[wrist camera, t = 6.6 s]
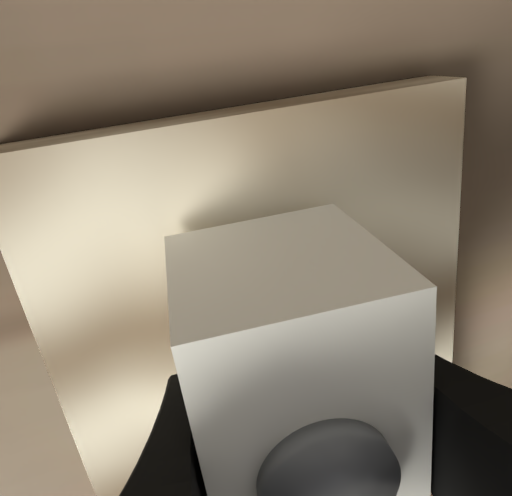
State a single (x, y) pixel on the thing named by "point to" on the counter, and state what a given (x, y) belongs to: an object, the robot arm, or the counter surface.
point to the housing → (303, 357)
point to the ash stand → (206, 216)
